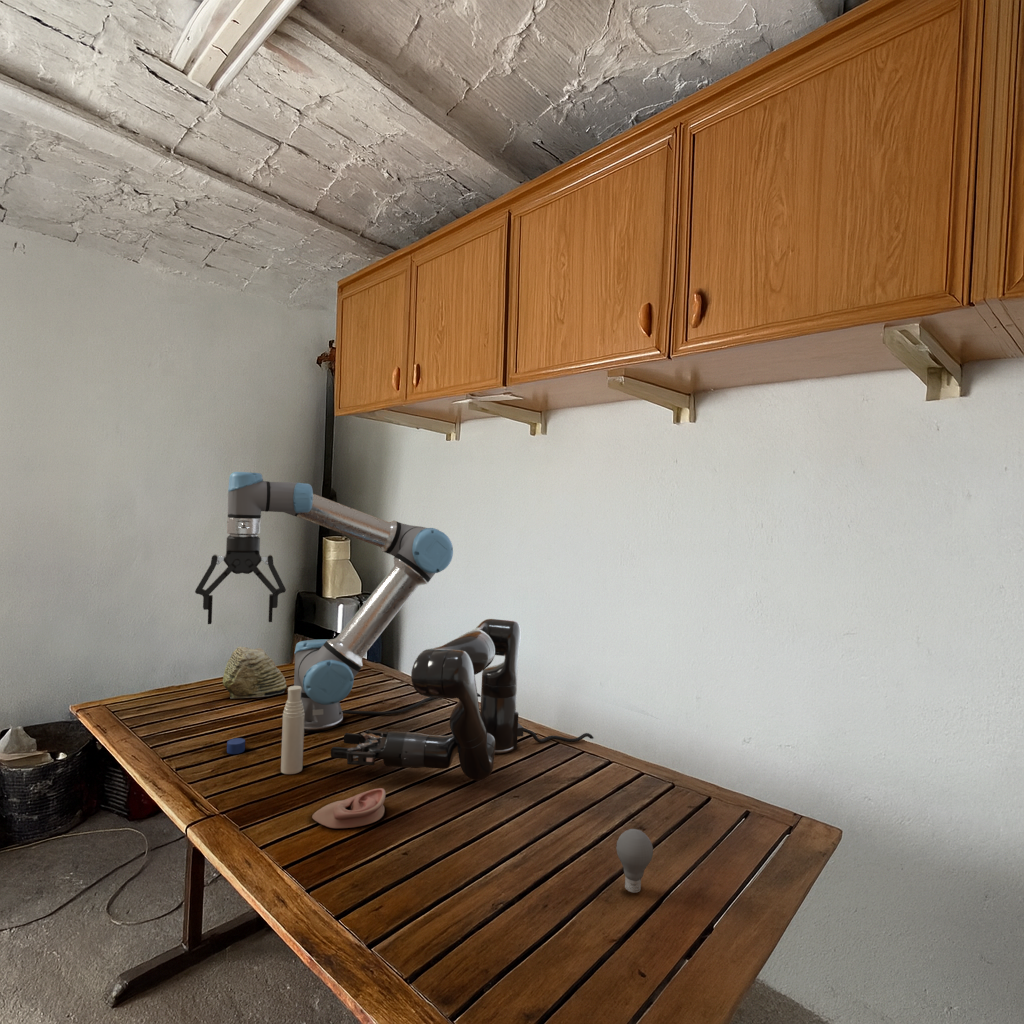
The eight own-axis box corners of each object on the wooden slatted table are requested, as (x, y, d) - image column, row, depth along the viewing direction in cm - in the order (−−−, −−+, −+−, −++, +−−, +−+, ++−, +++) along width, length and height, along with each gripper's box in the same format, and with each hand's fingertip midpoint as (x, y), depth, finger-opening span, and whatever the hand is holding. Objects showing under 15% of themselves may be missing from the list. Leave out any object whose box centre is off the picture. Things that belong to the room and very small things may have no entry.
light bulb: (610, 879, 108) (613, 822, 108) (644, 879, 109) (647, 822, 109) (619, 902, 102) (622, 840, 102) (655, 901, 103) (658, 840, 103)
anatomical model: (304, 803, 122) (333, 778, 133) (303, 824, 122) (332, 797, 133) (368, 813, 119) (392, 787, 131) (368, 834, 119) (391, 806, 131)
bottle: (306, 770, 146) (309, 688, 146) (286, 776, 143) (289, 691, 142) (296, 763, 149) (299, 683, 149) (276, 769, 146) (280, 686, 146)
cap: (233, 746, 158) (233, 737, 158) (248, 748, 157) (248, 739, 157) (223, 753, 154) (223, 743, 154) (238, 755, 153) (238, 745, 153)
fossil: (218, 695, 195) (220, 647, 195) (278, 685, 208) (279, 640, 207) (228, 703, 189) (230, 653, 188) (289, 692, 201) (290, 645, 201)
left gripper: (184, 535, 146) (181, 627, 146) (298, 537, 156) (295, 623, 156) (187, 533, 153) (184, 620, 153) (296, 535, 163) (293, 617, 163)
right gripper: (414, 722, 152) (348, 718, 153) (400, 745, 137) (327, 740, 138) (413, 753, 152) (347, 749, 153) (399, 779, 137) (326, 774, 139)
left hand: (240, 622), depth 155 cm, fingers open, 13 cm apart
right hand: (337, 744), depth 146 cm, fingers open, 8 cm apart
